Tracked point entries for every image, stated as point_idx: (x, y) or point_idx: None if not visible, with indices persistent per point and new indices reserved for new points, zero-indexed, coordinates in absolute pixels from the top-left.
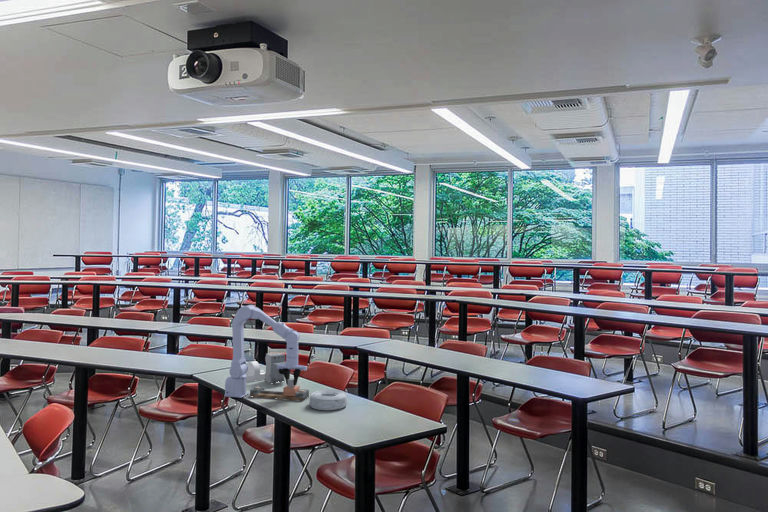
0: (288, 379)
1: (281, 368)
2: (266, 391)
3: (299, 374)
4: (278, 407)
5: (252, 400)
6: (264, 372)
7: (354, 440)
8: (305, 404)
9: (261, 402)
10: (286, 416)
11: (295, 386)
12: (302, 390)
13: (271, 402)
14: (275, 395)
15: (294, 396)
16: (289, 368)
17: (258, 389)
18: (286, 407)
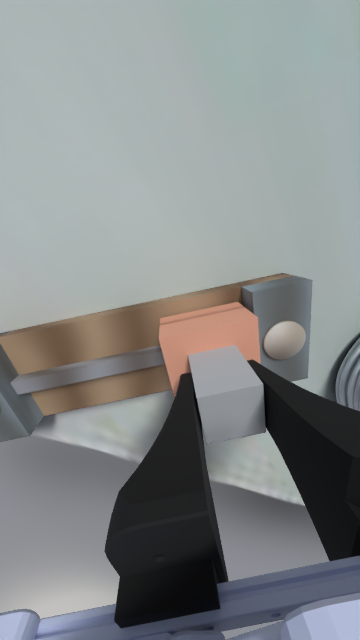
0: (209, 436)
1: (86, 632)
2: (55, 385)
3: (346, 413)
4: (225, 458)
5: (72, 440)
6: None
7: None
8: (309, 389)
9: (126, 443)
10: (293, 501)
11: (235, 346)
12: (283, 334)
13: (162, 427)
14: (136, 390)
15: None
16: (259, 622)
17: (15, 422)
18: (253, 447)
